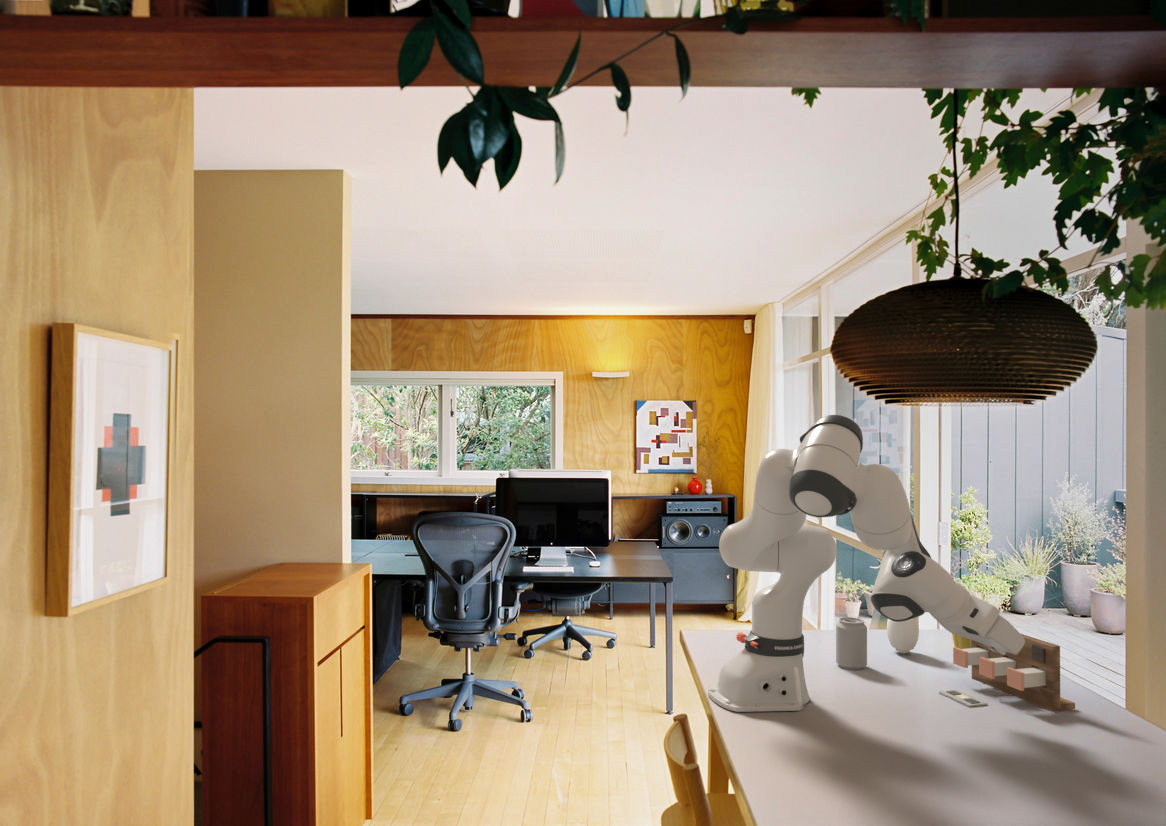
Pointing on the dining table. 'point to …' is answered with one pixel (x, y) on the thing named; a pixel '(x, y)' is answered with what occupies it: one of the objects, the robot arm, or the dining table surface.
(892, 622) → the cream tall ovoid
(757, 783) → the dining table surface
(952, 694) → the card
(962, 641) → the plant pot
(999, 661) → the button middle
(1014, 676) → the button near
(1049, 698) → the console
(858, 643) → the can
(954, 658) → the button far
